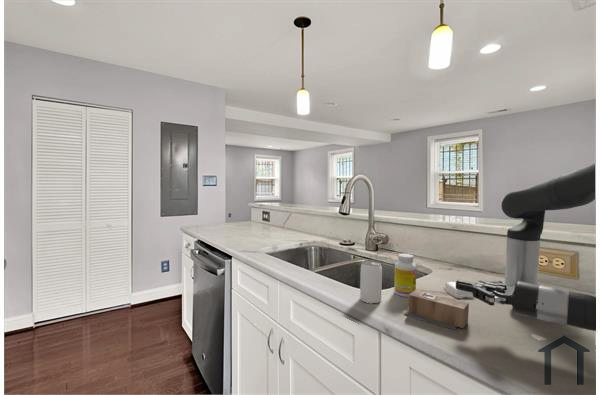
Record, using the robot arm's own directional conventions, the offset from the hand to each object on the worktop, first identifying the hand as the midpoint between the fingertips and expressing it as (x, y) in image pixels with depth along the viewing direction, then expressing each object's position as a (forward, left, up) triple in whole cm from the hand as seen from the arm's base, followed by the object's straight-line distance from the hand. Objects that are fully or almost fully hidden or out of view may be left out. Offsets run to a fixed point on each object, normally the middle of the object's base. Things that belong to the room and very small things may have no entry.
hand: (456, 284), depth 80 cm
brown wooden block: (0, +2, -8) cm, 8 cm away
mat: (-1, -6, -10) cm, 12 cm away
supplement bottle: (-11, -18, -11) cm, 24 cm away
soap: (-24, -5, -11) cm, 27 cm away
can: (+1, -24, -11) cm, 26 cm away
